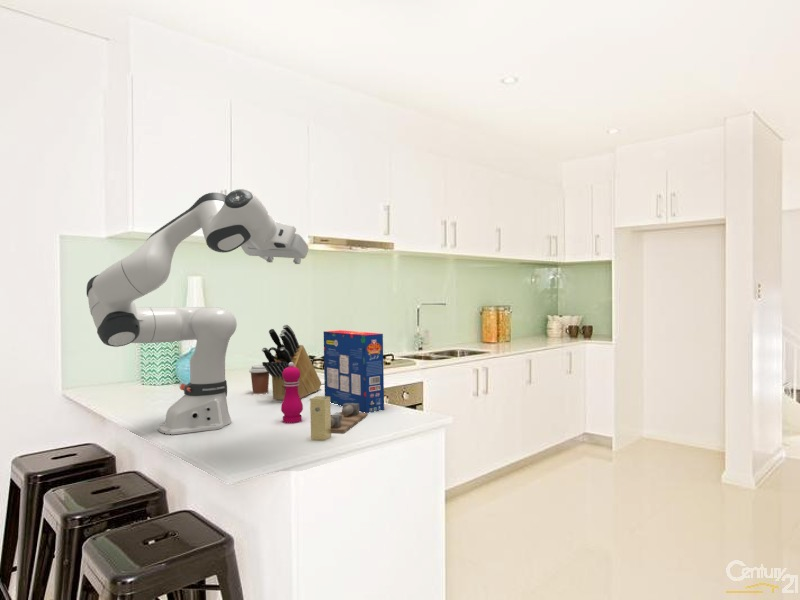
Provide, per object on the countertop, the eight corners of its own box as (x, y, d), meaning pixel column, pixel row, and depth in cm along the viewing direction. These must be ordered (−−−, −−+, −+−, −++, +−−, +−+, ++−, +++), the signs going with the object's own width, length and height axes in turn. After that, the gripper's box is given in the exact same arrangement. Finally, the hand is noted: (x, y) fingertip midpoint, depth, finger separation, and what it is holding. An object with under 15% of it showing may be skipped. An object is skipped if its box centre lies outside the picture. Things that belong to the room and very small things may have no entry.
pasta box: (384, 410, 198) (382, 333, 197) (366, 413, 193) (365, 335, 192) (341, 399, 219) (340, 330, 219) (324, 401, 214) (323, 331, 214)
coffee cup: (268, 395, 230) (267, 367, 230) (246, 395, 230) (246, 367, 230) (273, 391, 239) (273, 364, 239) (253, 391, 240) (252, 364, 239)
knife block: (260, 405, 210) (258, 325, 209) (298, 389, 244) (297, 320, 243) (287, 406, 207) (285, 325, 207) (322, 389, 241) (320, 320, 241)
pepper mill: (293, 417, 188) (292, 360, 188) (307, 420, 183) (306, 361, 183) (276, 421, 182) (275, 362, 182) (290, 424, 178) (289, 364, 177)
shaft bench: (343, 433, 166) (343, 418, 166) (313, 431, 168) (313, 417, 168) (367, 415, 189) (367, 402, 189) (340, 414, 191) (340, 401, 191)
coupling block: (324, 440, 158) (324, 399, 158) (310, 439, 159) (309, 399, 159) (331, 436, 163) (330, 396, 163) (317, 435, 164) (316, 395, 164)
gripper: (229, 241, 155) (251, 268, 166) (292, 244, 148) (311, 272, 160) (236, 224, 158) (258, 251, 169) (299, 226, 151) (317, 254, 163)
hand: (284, 261), depth 165 cm, fingers open, 8 cm apart
